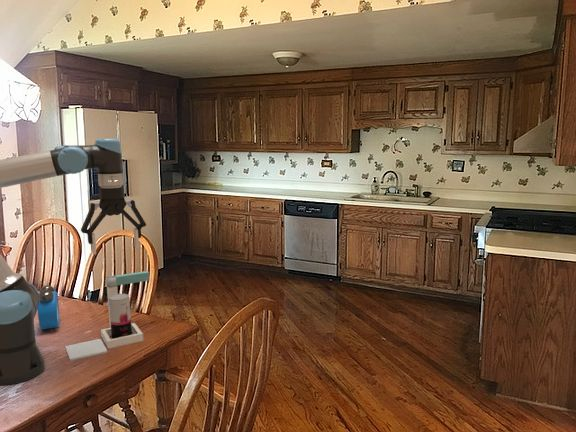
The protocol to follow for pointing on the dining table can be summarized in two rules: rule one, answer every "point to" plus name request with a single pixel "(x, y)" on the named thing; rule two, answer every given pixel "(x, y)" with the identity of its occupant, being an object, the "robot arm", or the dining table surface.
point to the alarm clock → (48, 308)
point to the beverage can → (120, 315)
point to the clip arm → (127, 278)
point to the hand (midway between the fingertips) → (116, 250)
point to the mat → (85, 349)
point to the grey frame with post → (121, 340)
